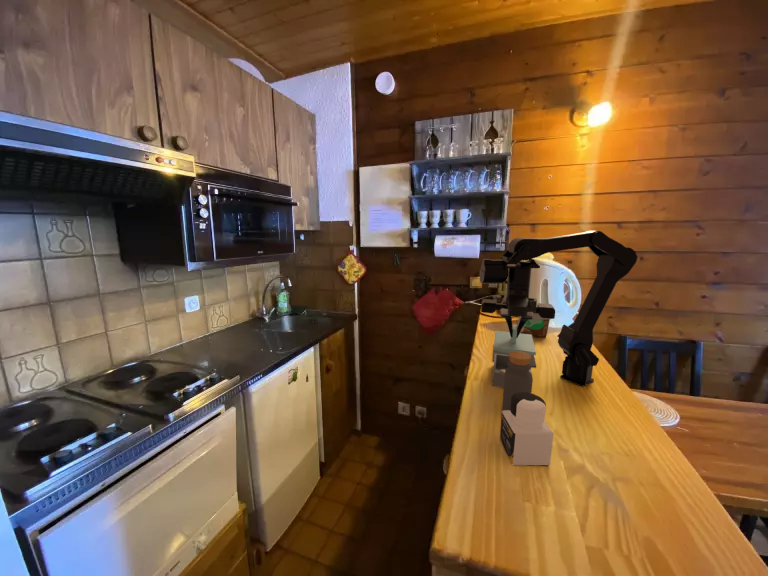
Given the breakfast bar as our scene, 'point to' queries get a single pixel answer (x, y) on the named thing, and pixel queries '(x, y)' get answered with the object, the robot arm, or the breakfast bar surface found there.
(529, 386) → the bottle
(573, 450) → the breakfast bar surface
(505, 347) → the lid
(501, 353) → the mat
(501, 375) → the tub
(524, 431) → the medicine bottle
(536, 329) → the food container
